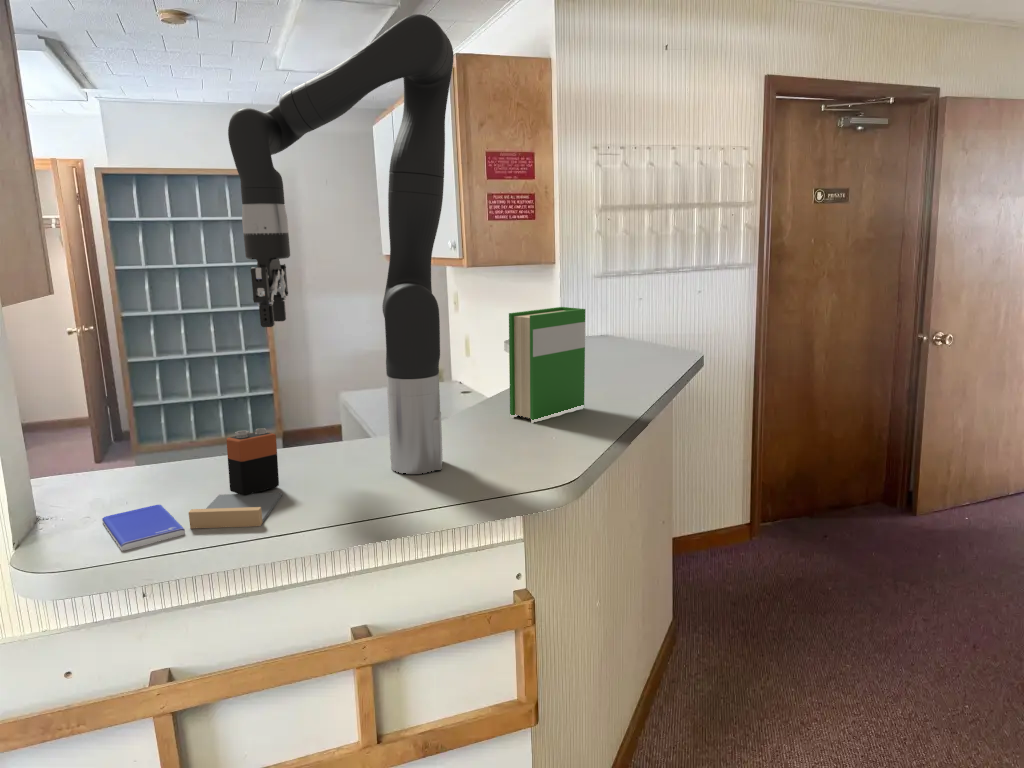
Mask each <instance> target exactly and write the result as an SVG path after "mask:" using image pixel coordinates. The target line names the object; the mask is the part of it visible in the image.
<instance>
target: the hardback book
mask: <svg viewBox="0 0 1024 768" xmlns="http://www.w3.org/2000/svg"><path fill="white" fill-rule="evenodd" d="M508 354H509V355H508V356H509V359H508V360H509V363H508V365H509V367H508V368H509V372H508V373H509V415H510V414H511V415H515V414H516V415H520V417H521V416H523V417H522V418H525V417H528V418H527V419H529V418H530V419H532V420H534V419H538V418H541V417H544V416H548V415H551V414H554V413H558V412H561V411H564V410H568V409H571V408H574V407H577V406H581V405H584V406H585V381H586V380H585V379H586V378H585V375H586V374H585V371H586V369H585V368H586V364H585V363H586V360H585V359H586V308H579V307H566V306H557V307H550V308H541V309H533V310H523V311H515V312H508ZM530 419H529V420H530Z"/></svg>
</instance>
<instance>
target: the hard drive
mask: <svg viewBox="0 0 1024 768" xmlns="http://www.w3.org/2000/svg"><path fill="white" fill-rule="evenodd" d="M101 520H102V524H103V523H104V524H103V526H104V525H105V526H106V527H105V526H104V527H105V529H106V528H107V529H106V530H107V532H108V531H109V532H108V533H109V535H110V534H111V535H110V536H111V537H113V538H114V539H113V538H112V539H113V540H114V542H115V541H116V542H115V544H116V545H117V544H118V545H117V546H118V548H119V547H120V548H119V550H121V551H122V552H123V550H124V551H127V550H130V549H131V550H132V549H135V548H139V547H143V546H146V545H150V544H153V543H158V542H161V540H162V541H165V540H168V538H169V539H172V537H173V538H176V537H180V536H184V535H186V531H185V528H184V527H183V526H182V525H181V524H180V523H179V522H178V521H177V519H175V518H174V517H173V516H172V515H171V514H170V513H169V512H168V510H166V508H165V507H164V506H163V505H161V504H154V505H150V506H145V507H140V508H137V509H132V510H129V511H122V512H119V513H115V514H109V515H106V516H104V517H103V518H101ZM157 541H158V542H157Z"/></svg>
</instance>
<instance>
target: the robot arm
mask: <svg viewBox="0 0 1024 768" xmlns="http://www.w3.org/2000/svg"><path fill="white" fill-rule="evenodd" d="M453 68H454V49H453V45H452V43H451V40H450V39H449V36H448V35H447V34H446V33H445V31H444V30H443V29H442V27H441V26H440V25H439V23H437V21H435V20H434V19H433V18H432V17H429V16H427V15H425V14H420V13H419V14H417V13H416V14H415V13H414V14H411V15H407V16H406V17H404V18H402V19H400V20H399V21H398V22H396V23H395V24H393V25H392V26H391V27H389V28H388V29H386V30H385V31H384V32H383V33H381V35H379V36H378V37H376V38H375V39H374V40H373V41H371V42H369V43H368V44H367V45H365V46H364V47H362V48H361V49H360V50H358V51H357V52H356V53H354V54H352V55H351V56H349V57H348V58H346V59H345V60H344V61H342V62H340V63H339V64H337V65H335V66H333V67H332V68H330V69H328V70H327V71H325V72H323V73H321V74H319V75H317V76H315V77H314V78H310V79H309V80H307V81H306V82H304V83H301V84H300V85H297V86H296V87H293V88H291V89H290V90H288V91H287V92H285V93H284V94H282V95H281V96H280V98H279V101H278V105H276V106H274V107H273V108H271V109H269V110H266V111H264V112H263V111H260V110H259V109H258V110H257V109H255V108H249V107H243V108H241V109H240V108H239V109H238V110H236V111H235V112H234V113H233V114H232V115H231V117H230V119H229V123H228V130H227V137H228V143H229V146H230V147H229V148H230V152H231V155H232V158H233V162H234V164H235V168H236V171H237V173H238V176H239V179H240V195H241V204H242V209H241V210H242V213H241V222H242V231H243V233H242V234H243V242H244V254H245V258H246V259H248V260H256V262H257V263H256V264H257V265H256V267H253V266H252V267H251V268H250V276H251V287H252V296H253V297H252V300H253V302H254V303H255V304H256V305H257V306H258V309H259V320H260V321H259V322H260V327H261V328H272V327H274V326H275V322H284V321H286V320H287V317H286V315H287V314H286V313H287V312H286V299H287V297H288V296H289V289H288V279H287V265H286V264H285V263H281V262H280V260H282V259H283V260H284V259H289V258H290V257H291V249H290V248H291V247H290V236H289V223H288V215H287V214H288V213H287V210H286V205H285V203H286V202H285V190H284V183H283V178H282V174H281V173H280V172H279V171H278V170H276V168H275V167H274V164H273V163H274V162H273V159H272V155H277V154H278V153H281V152H283V151H284V150H286V149H288V148H289V147H291V146H292V145H293V144H294V143H296V142H297V141H298V140H300V139H301V138H302V137H303V136H304V135H306V134H308V133H310V132H312V131H315V130H317V129H318V128H321V127H323V126H325V125H327V124H329V123H331V122H333V121H335V120H336V119H338V118H340V117H341V116H343V115H344V114H346V113H347V112H348V111H349V110H351V109H352V108H353V107H354V106H356V104H358V102H360V101H361V100H363V98H364V97H366V96H367V95H368V94H370V93H371V92H373V91H374V90H376V89H378V88H380V87H381V86H384V85H386V84H388V83H390V82H393V81H397V80H400V79H403V110H402V111H403V113H402V118H401V122H400V127H399V129H398V133H397V136H396V138H395V143H394V145H393V149H392V152H391V157H390V164H389V171H388V172H389V174H388V190H387V191H388V192H387V199H388V201H387V203H388V206H387V207H388V231H389V232H388V234H389V235H388V236H389V249H390V251H389V260H388V261H389V263H388V272H387V277H386V284H385V290H384V294H383V295H384V296H383V300H382V314H383V318H384V329H385V332H384V333H385V347H386V348H385V349H386V352H385V353H386V354H385V369H386V372H385V373H386V391H387V392H386V393H387V410H388V411H387V413H388V427H389V428H388V431H389V433H388V434H389V449H390V451H389V452H390V453H389V455H390V457H389V458H390V466H391V467H390V468H391V470H392V471H394V472H395V471H396V473H398V472H399V474H403V473H406V474H405V475H421V474H422V473H423V474H428V473H427V472H429V473H432V472H435V471H434V470H441V469H443V461H442V460H443V457H444V455H443V429H442V428H443V427H442V412H441V398H440V397H441V395H440V358H441V327H440V324H441V323H440V308H439V304H438V301H437V299H436V297H435V295H434V294H433V288H432V257H433V249H434V244H435V240H436V237H437V233H438V229H439V228H438V227H439V225H440V220H441V219H440V218H441V213H442V208H443V200H444V199H443V198H444V197H443V196H444V186H445V185H444V184H445V158H446V157H445V155H446V154H445V153H446V113H447V104H448V98H449V97H448V96H449V92H450V85H451V80H452V73H453ZM431 471H432V472H431ZM441 471H442V470H441Z"/></svg>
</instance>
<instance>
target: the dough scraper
mask: <svg viewBox="0 0 1024 768" xmlns="http://www.w3.org/2000/svg"><path fill="white" fill-rule="evenodd" d="M282 496H283V493H282V492H266V493H265V492H262V493H261V492H255V493H252V494H248V495H242V494H238V493H233V494H232V493H231V494H230V493H229V494H226V493H225V494H218V495H217V496H216V497H215V498H214V500H212V502H210V503H209V505H208V506H207V507H205V508H192V509H190V510H189V511H188V520H189V528H190V529H216V528H217V529H218V528H245V527H247V528H248V527H249V528H250V527H261V526H262V524H263V523H264V521H266V519H267V518H268V516H269V514H270V513H271V512H272V510H273V509H274V507H276V505H277V503H278V502H279V500H280V499H281V497H282Z"/></svg>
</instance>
